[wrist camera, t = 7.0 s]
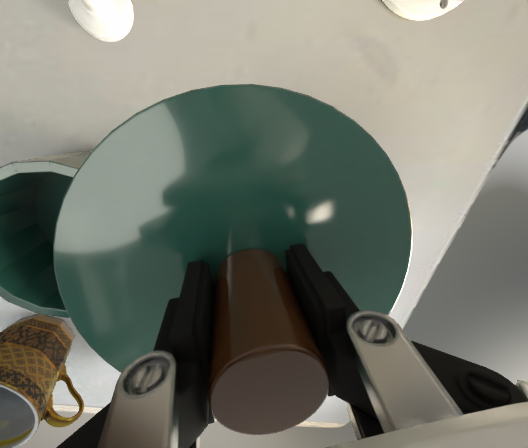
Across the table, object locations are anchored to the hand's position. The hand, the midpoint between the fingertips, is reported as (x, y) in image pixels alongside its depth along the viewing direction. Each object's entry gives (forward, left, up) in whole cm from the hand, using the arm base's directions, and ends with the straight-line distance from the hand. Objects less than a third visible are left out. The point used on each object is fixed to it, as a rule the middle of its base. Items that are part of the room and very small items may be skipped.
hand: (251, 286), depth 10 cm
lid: (0, 0, -1) cm, 1 cm away
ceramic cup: (+20, +22, -21) cm, 36 cm away
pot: (+14, +5, -20) cm, 25 cm away
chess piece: (+13, -14, -21) cm, 28 cm away
